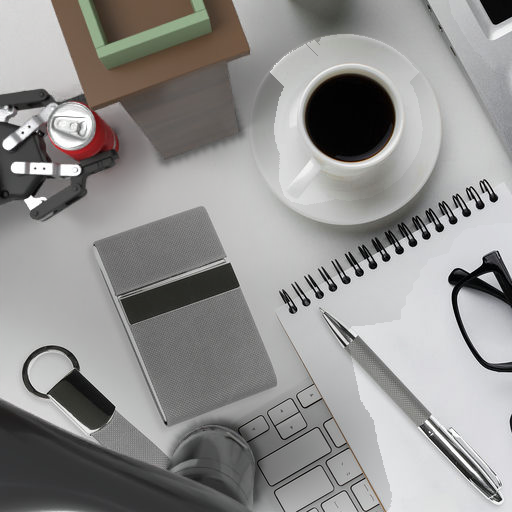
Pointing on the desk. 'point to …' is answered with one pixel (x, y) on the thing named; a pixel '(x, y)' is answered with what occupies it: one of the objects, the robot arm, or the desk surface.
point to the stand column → (186, 112)
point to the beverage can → (80, 131)
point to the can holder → (146, 43)
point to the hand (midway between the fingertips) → (106, 127)
